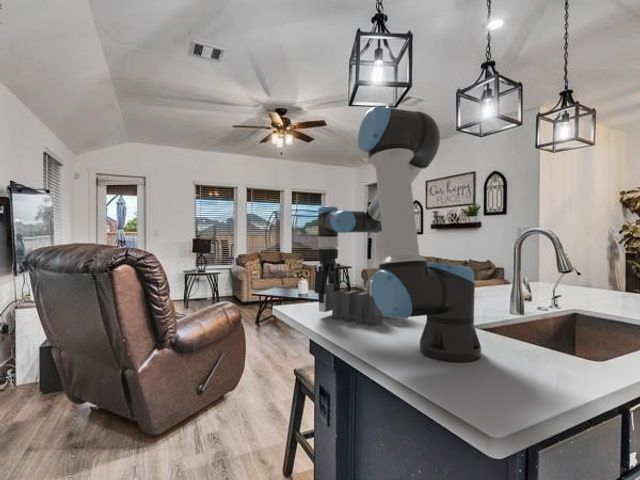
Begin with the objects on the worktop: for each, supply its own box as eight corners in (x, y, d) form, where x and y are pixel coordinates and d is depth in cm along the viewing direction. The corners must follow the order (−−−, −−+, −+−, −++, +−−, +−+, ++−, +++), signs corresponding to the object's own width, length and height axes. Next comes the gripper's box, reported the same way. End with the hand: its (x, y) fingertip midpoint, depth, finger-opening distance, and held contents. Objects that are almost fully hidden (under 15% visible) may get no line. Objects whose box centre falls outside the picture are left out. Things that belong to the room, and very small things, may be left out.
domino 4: (369, 320, 130) (369, 292, 130) (361, 323, 125) (361, 294, 125) (364, 319, 131) (364, 291, 131) (356, 323, 126) (356, 294, 126)
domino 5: (382, 322, 127) (382, 293, 127) (374, 326, 122) (374, 296, 122) (377, 321, 128) (377, 293, 128) (369, 325, 123) (369, 295, 123)
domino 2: (345, 316, 136) (345, 289, 135) (336, 319, 131) (336, 292, 131) (341, 316, 137) (341, 289, 137) (332, 319, 132) (332, 291, 132)
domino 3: (357, 318, 133) (357, 291, 133) (348, 321, 128) (348, 293, 128) (352, 317, 134) (352, 290, 134) (343, 321, 129) (344, 292, 129)
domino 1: (334, 309, 139) (334, 283, 138) (325, 312, 134) (325, 285, 134) (329, 308, 140) (329, 282, 140) (320, 311, 135) (320, 284, 135)
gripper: (333, 246, 146) (333, 304, 147) (304, 248, 131) (304, 313, 131) (349, 247, 142) (349, 306, 142) (321, 249, 126) (321, 316, 127)
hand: (327, 309), depth 137 cm, fingers closed on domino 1, 6 cm apart
